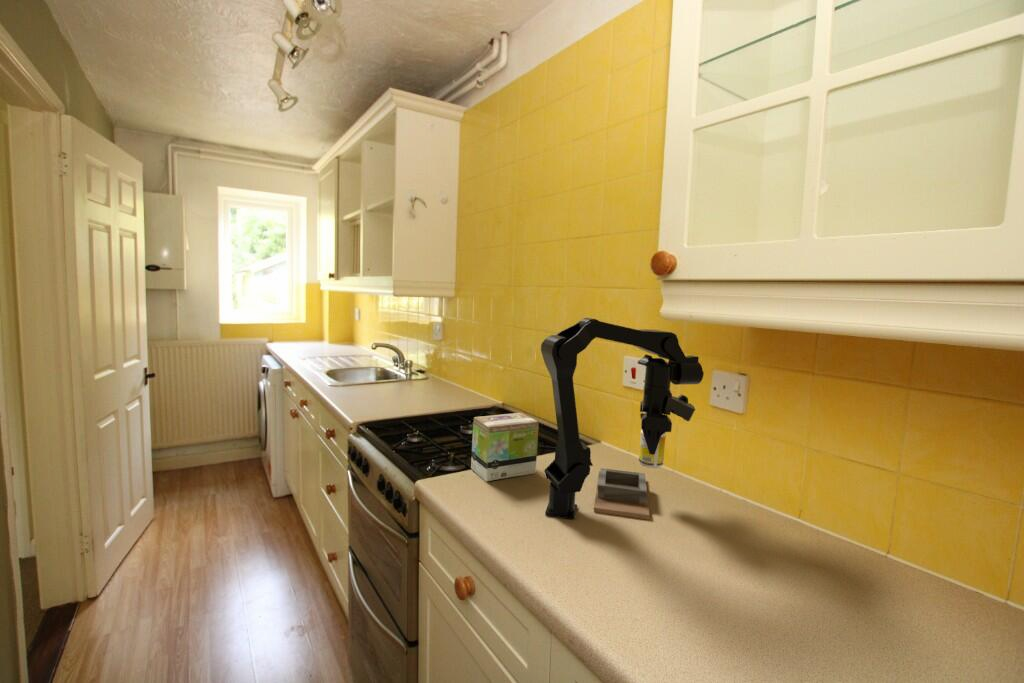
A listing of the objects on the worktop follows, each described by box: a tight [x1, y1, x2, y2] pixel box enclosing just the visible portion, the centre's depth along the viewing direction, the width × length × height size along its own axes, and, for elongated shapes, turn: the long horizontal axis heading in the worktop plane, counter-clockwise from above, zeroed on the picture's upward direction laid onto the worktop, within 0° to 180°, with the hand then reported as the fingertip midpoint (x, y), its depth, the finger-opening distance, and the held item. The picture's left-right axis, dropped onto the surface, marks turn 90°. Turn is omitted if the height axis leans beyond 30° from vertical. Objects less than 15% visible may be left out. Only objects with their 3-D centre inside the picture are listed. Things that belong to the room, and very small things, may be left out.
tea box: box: [470, 412, 540, 483], centre depth 125 cm, size 15×10×15 cm
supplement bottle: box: [638, 429, 666, 469], centre depth 110 cm, size 6×6×10 cm
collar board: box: [593, 467, 650, 521], centre depth 114 cm, size 22×12×4 cm, turn 167°
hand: (651, 450), depth 110 cm, fingers closed on supplement bottle, 6 cm apart
